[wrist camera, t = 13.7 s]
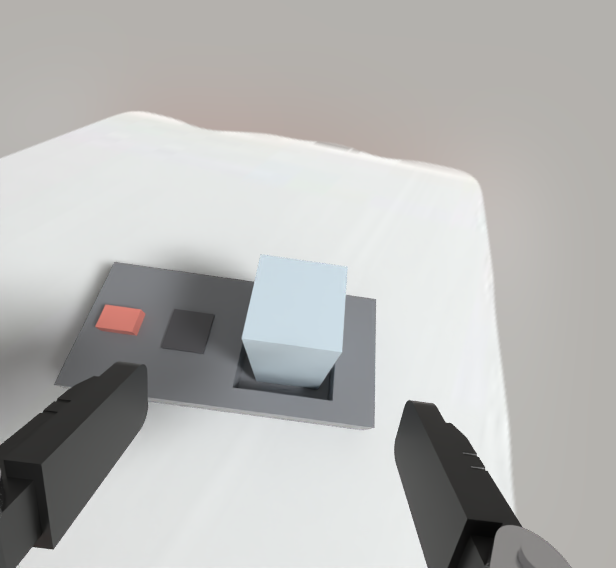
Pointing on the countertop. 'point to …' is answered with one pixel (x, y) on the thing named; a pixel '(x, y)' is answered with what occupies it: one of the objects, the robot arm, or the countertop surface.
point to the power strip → (215, 349)
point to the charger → (295, 321)
